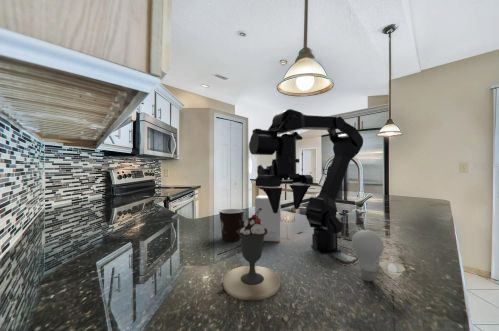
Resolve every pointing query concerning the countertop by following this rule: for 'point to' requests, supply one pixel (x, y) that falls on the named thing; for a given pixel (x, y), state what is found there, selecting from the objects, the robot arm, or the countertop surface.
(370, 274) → the lightbulb
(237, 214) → the coffee mug
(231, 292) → the coaster
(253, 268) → the sundae
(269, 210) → the supplement box
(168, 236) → the countertop surface
